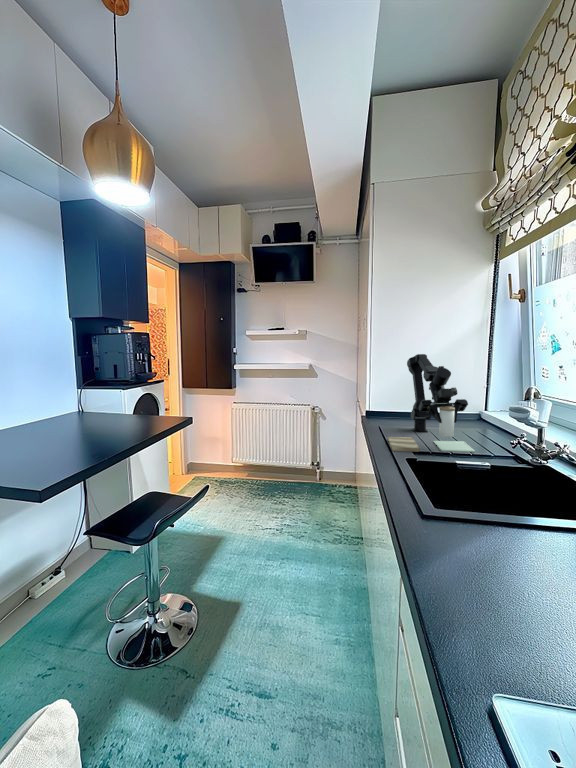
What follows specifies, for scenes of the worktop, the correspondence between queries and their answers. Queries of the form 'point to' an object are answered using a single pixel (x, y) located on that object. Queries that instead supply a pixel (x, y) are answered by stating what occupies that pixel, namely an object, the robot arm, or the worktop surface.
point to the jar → (446, 421)
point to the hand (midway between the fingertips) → (448, 422)
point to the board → (403, 444)
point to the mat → (453, 446)
